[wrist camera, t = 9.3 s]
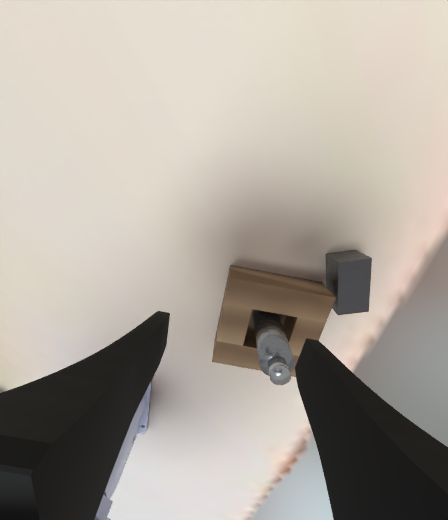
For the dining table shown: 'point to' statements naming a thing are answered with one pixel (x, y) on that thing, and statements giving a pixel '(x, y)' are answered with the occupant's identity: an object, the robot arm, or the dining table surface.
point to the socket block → (270, 300)
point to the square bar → (349, 281)
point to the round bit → (273, 347)
